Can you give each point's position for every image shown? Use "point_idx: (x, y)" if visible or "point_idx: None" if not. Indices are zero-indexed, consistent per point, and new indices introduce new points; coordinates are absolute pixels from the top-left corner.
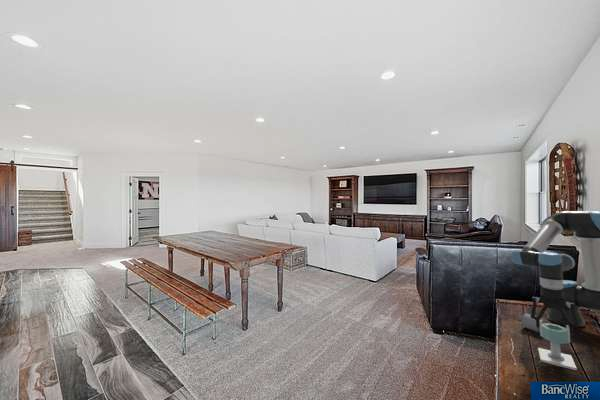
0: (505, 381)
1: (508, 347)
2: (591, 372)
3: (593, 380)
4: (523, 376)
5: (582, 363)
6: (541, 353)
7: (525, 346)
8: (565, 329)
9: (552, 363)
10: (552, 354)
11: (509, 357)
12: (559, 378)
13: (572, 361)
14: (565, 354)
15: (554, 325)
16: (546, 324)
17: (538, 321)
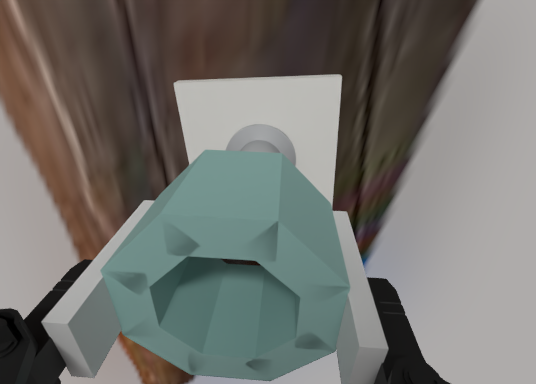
0: (139, 363)
1: (58, 151)
2: (386, 194)
3: (368, 252)
4: None
5: (378, 119)
6: (197, 155)
7: (115, 76)
8: (332, 308)
9: None
10: None
11: (100, 244)
12: None
13: (329, 159)
14: (312, 86)
15: (229, 254)
16: (147, 268)
17: (59, 359)
